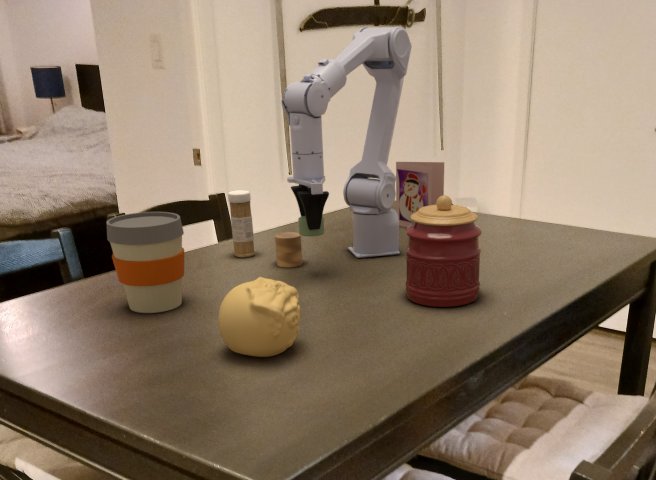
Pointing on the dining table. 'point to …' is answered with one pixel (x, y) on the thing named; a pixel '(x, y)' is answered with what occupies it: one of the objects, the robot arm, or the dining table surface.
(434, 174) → the greeting card
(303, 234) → the green short cylinder
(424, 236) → the kitchen canister
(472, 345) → the dining table surface
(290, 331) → the sculpture
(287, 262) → the pile bottom chip
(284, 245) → the pile middle chip
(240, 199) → the sprinkles bottle
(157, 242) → the reusable coffee cup
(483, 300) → the dining table surface
